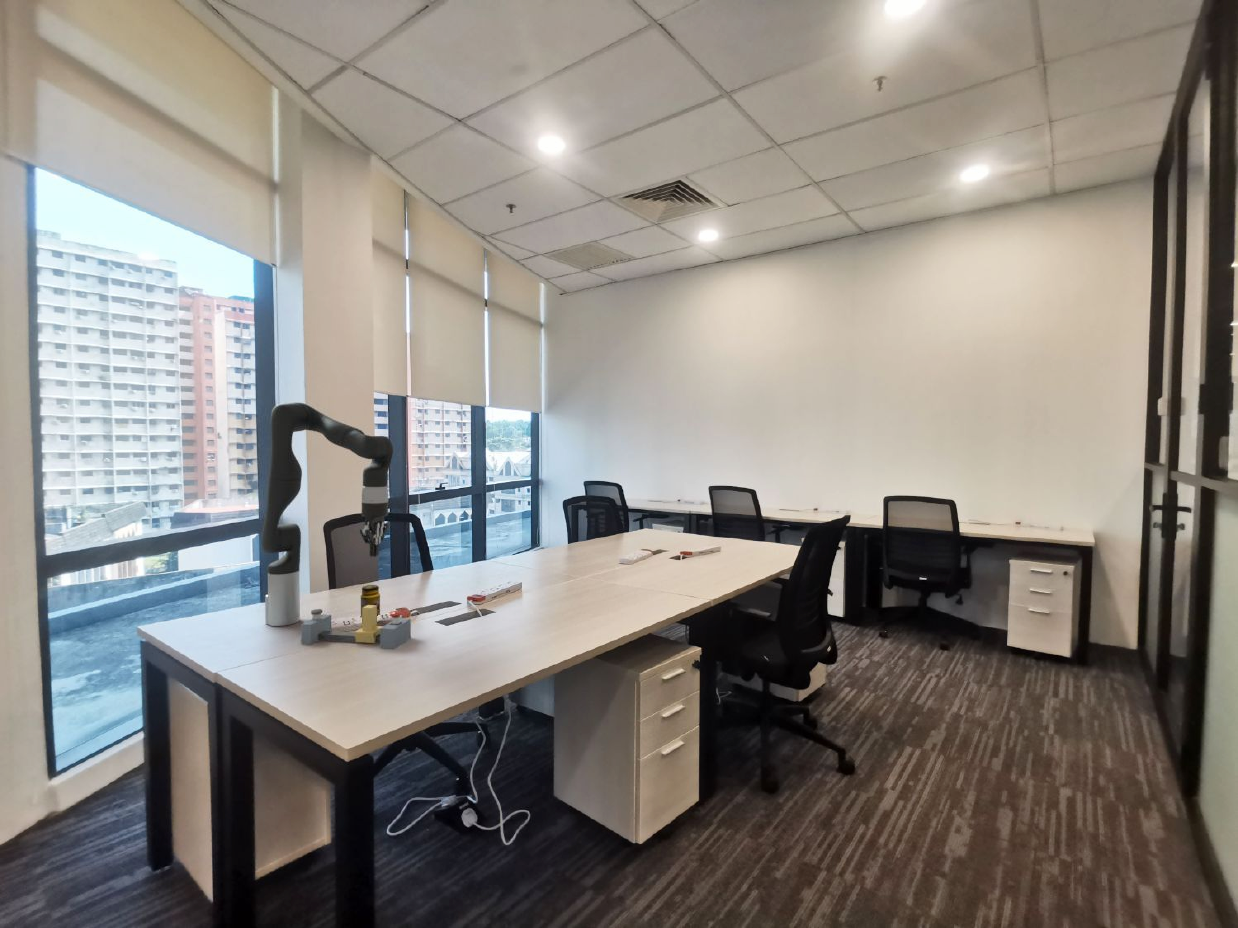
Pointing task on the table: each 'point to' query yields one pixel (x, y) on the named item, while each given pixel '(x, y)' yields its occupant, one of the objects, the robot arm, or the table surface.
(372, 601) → the condiment
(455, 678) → the table surface
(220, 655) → the table surface
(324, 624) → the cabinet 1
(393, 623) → the plunger
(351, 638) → the rail
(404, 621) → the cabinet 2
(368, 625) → the carriage
